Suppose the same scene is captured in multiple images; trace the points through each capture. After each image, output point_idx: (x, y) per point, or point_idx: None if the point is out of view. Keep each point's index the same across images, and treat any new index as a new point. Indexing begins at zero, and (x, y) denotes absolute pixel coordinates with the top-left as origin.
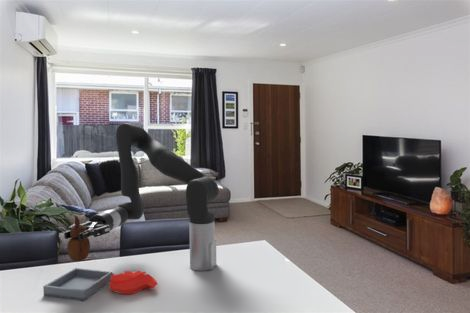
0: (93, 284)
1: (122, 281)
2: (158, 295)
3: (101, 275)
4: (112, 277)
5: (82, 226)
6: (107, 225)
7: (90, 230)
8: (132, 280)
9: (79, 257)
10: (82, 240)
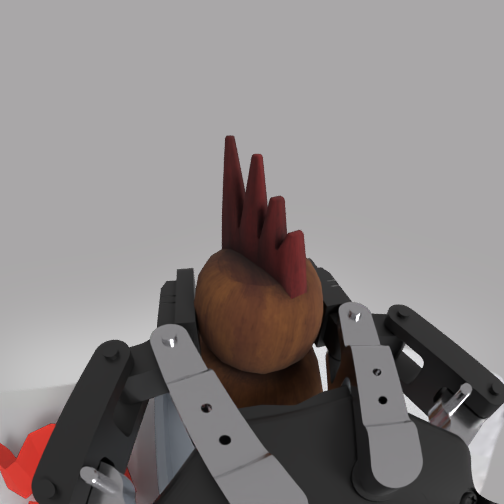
0: (157, 424)
1: None
2: (2, 442)
3: None
4: None
5: (212, 272)
6: (43, 480)
7: (154, 336)
8: (33, 432)
9: None
10: (200, 339)
